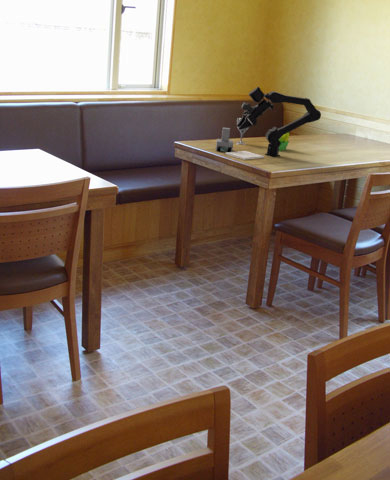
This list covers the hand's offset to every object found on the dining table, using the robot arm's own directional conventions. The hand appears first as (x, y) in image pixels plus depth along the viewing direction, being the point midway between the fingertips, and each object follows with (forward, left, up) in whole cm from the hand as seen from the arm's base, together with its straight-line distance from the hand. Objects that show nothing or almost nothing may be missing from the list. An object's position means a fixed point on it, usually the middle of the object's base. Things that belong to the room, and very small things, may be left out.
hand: (238, 127), depth 338 cm
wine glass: (-24, -18, -14) cm, 34 cm away
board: (+3, +10, -14) cm, 17 cm away
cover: (+4, -5, -14) cm, 15 cm away
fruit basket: (-36, +3, -14) cm, 39 cm away
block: (+4, -5, -14) cm, 15 cm away
